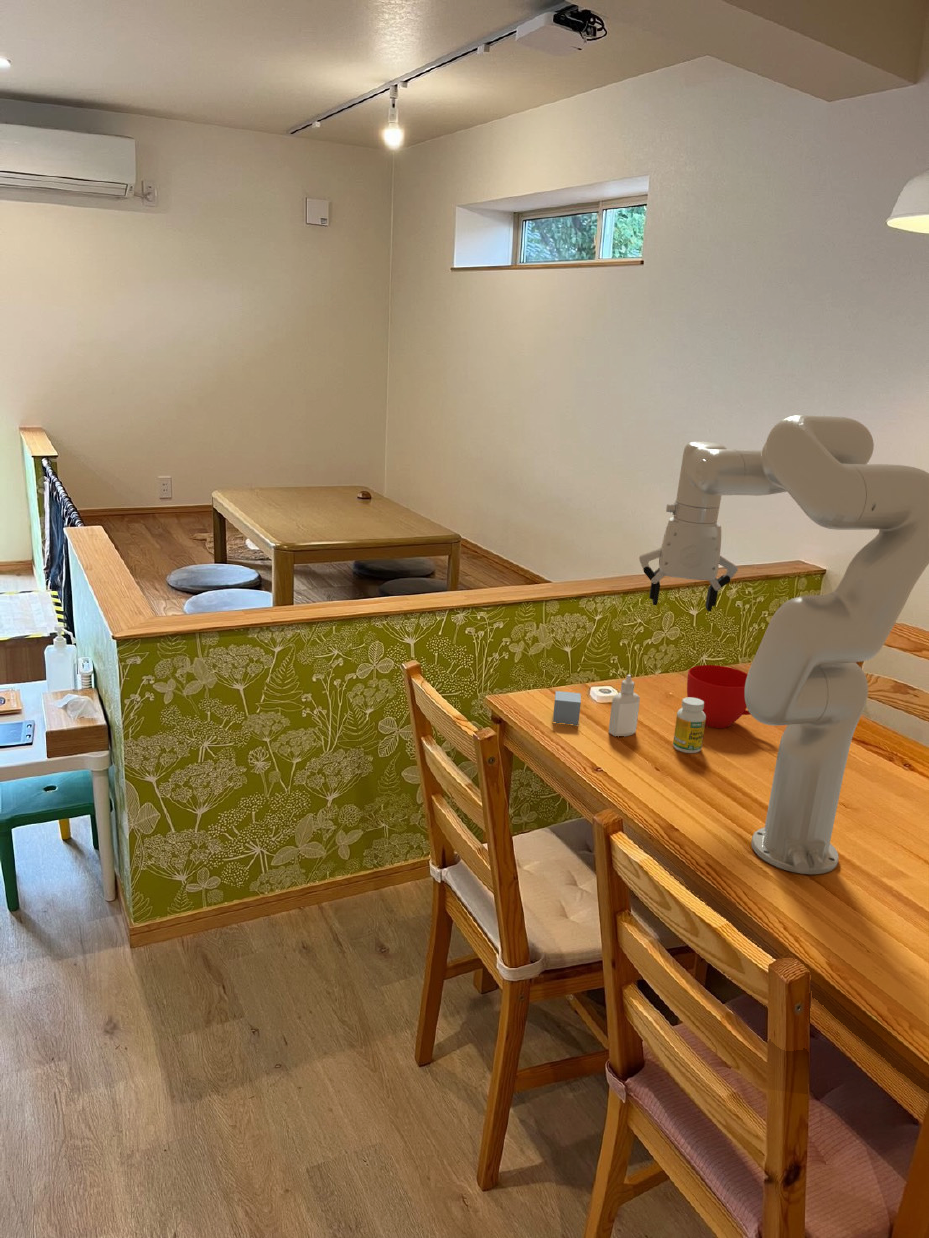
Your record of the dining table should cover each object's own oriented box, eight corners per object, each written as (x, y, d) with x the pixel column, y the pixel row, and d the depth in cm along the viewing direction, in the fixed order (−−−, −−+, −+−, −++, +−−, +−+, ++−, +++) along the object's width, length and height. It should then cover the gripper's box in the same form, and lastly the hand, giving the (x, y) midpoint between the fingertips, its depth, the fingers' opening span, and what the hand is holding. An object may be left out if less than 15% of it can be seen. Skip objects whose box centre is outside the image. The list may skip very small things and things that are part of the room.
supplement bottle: (686, 740, 184) (693, 693, 181) (707, 750, 180) (714, 703, 177) (666, 745, 181) (672, 698, 178) (687, 756, 177) (694, 708, 174)
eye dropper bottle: (638, 738, 183) (646, 680, 180) (609, 737, 183) (616, 678, 179) (634, 729, 187) (641, 672, 184) (605, 727, 187) (612, 670, 184)
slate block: (578, 726, 187) (580, 702, 186) (552, 723, 188) (555, 699, 186) (578, 716, 192) (580, 693, 191) (553, 713, 192) (555, 690, 191)
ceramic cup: (756, 745, 183) (764, 697, 180) (672, 723, 192) (679, 676, 189) (773, 725, 194) (781, 679, 191) (693, 704, 202) (700, 660, 199)
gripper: (647, 513, 164) (634, 607, 170) (749, 523, 162) (732, 618, 168) (645, 504, 171) (632, 594, 177) (743, 514, 169) (727, 605, 175)
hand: (681, 606), depth 172 cm, fingers open, 9 cm apart
